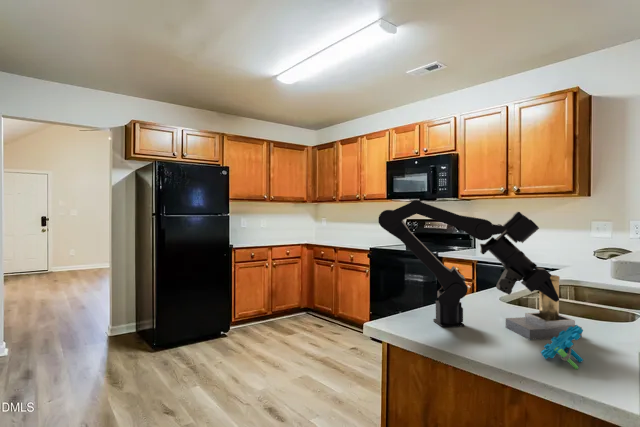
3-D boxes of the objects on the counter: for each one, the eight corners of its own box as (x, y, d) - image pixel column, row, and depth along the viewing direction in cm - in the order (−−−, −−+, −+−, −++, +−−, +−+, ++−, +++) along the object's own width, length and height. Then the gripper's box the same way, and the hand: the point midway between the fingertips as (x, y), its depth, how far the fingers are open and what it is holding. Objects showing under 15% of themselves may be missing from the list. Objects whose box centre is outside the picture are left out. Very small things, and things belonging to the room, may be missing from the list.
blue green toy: (541, 340, 88) (578, 316, 83) (563, 361, 86) (601, 338, 81) (535, 362, 79) (575, 337, 74) (559, 386, 77) (602, 362, 72)
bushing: (550, 326, 96) (550, 277, 96) (534, 321, 101) (534, 274, 101) (563, 325, 98) (563, 276, 98) (547, 320, 102) (548, 274, 102)
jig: (529, 339, 93) (529, 323, 93) (505, 327, 103) (505, 312, 103) (581, 337, 95) (581, 321, 95) (553, 325, 105) (553, 310, 105)
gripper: (481, 270, 113) (522, 309, 109) (490, 280, 95) (539, 328, 92) (511, 244, 110) (554, 284, 107) (525, 250, 92) (577, 298, 89)
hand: (555, 298), depth 99 cm, fingers closed on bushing, 4 cm apart
